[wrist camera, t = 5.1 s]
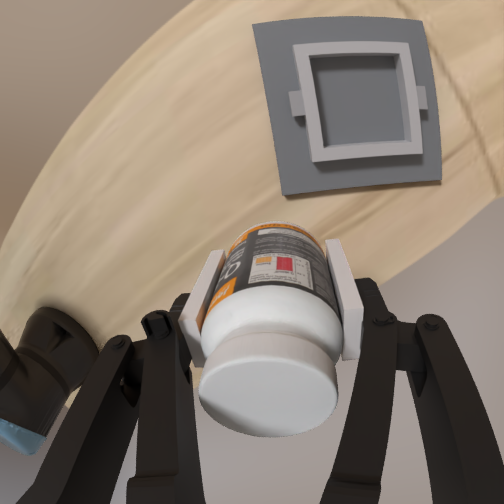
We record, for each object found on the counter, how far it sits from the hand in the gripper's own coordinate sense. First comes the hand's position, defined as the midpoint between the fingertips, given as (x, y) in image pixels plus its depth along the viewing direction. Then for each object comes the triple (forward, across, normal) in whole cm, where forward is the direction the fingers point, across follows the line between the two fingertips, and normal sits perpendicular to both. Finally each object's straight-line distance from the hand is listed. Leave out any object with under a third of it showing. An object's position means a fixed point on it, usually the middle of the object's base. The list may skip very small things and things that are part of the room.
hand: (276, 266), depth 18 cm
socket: (+16, +9, +9) cm, 21 cm away
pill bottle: (+1, 0, 0) cm, 1 cm away
